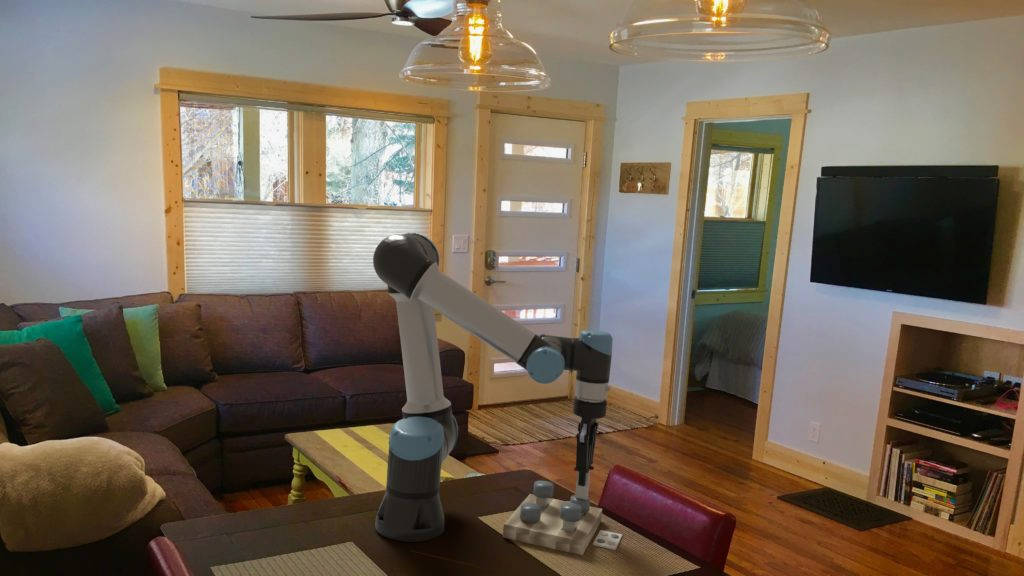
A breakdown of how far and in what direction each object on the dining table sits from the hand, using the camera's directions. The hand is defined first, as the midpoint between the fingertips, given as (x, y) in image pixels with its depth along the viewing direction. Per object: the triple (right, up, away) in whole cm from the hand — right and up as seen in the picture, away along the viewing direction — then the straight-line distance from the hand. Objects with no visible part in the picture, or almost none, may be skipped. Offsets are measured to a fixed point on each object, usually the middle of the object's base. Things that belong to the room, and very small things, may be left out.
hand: (581, 497), depth 174 cm
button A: (-12, -6, -6) cm, 15 cm away
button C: (-4, -5, -9) cm, 11 cm away
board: (-7, -6, -3) cm, 10 cm away
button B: (-9, -3, +3) cm, 10 cm away
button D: (-1, -6, +1) cm, 6 cm away
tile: (+5, -8, -6) cm, 11 cm away
